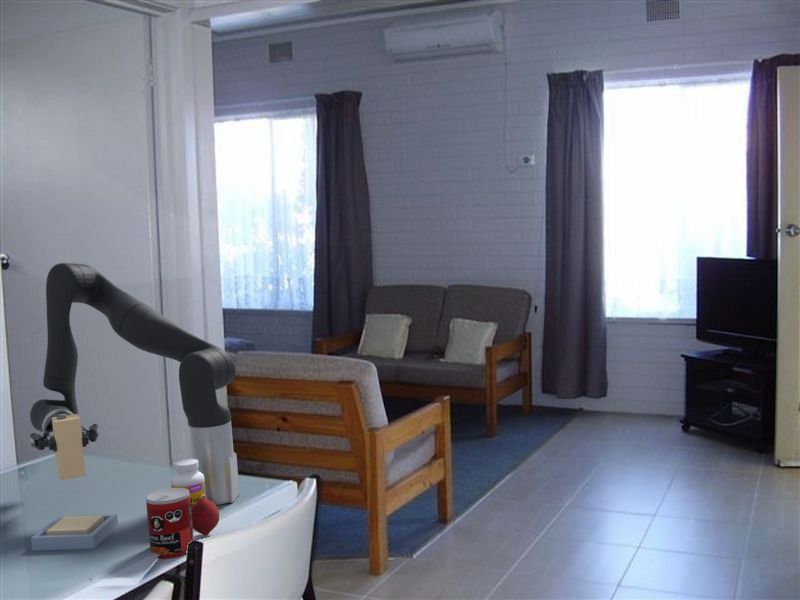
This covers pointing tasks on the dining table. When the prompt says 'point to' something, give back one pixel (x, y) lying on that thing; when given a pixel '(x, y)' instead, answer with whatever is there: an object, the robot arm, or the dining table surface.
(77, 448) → the carton
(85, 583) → the dining table surface
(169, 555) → the canned food
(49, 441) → the robot arm
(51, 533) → the beige slab
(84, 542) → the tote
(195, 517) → the onion
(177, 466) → the supplement bottle
